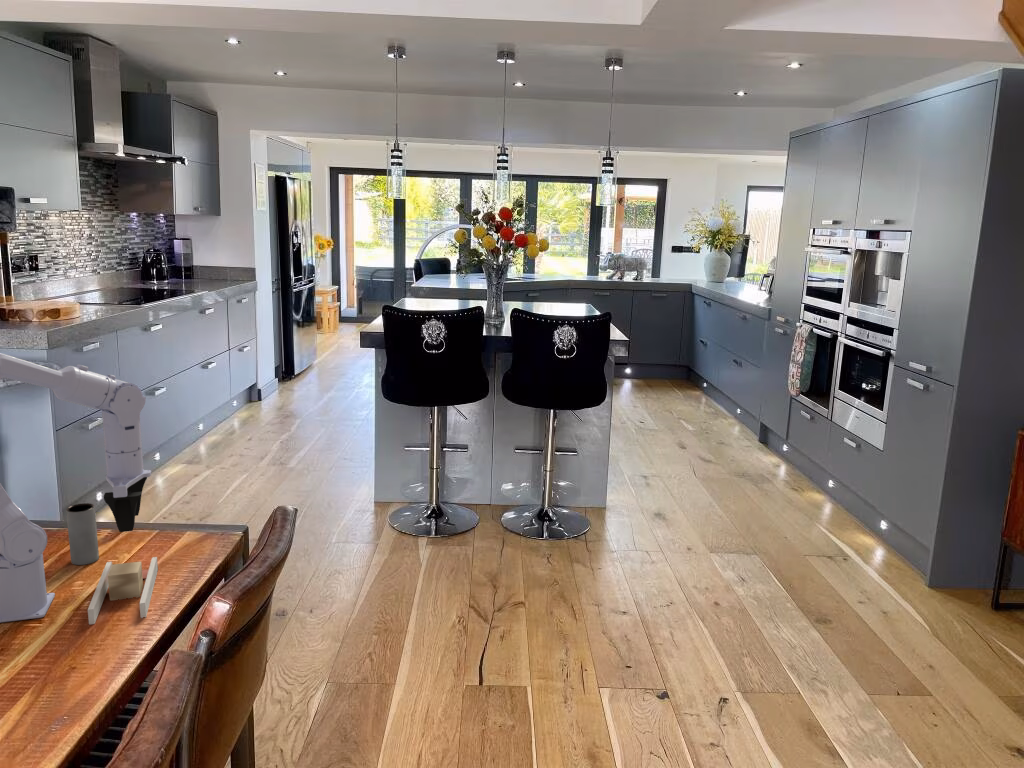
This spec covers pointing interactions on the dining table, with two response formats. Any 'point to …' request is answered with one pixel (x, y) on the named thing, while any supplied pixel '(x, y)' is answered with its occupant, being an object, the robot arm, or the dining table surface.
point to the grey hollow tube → (82, 533)
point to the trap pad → (145, 573)
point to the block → (125, 580)
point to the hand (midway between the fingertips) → (129, 523)
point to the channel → (104, 585)
